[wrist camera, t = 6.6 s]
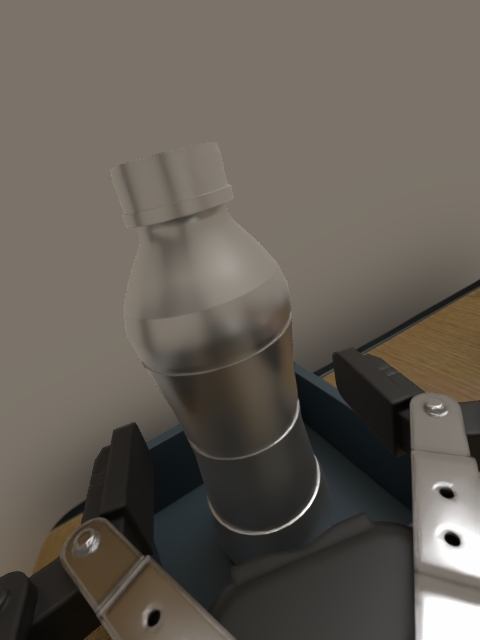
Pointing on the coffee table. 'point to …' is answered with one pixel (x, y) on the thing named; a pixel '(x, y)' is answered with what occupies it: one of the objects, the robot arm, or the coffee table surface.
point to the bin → (331, 452)
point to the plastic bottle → (221, 350)
